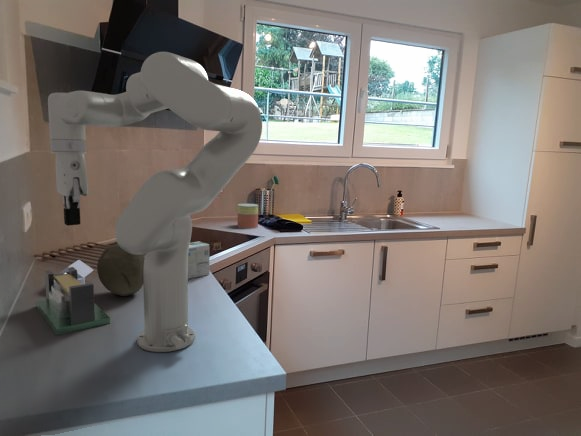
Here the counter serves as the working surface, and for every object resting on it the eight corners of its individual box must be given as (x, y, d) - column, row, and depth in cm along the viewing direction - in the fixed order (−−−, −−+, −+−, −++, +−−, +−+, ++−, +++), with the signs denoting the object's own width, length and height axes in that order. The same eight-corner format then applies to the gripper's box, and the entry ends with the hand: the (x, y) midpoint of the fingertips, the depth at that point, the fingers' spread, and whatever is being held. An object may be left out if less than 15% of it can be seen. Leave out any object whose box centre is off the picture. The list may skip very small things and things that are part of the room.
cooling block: (110, 323, 110) (108, 282, 109) (56, 335, 103) (54, 291, 101) (83, 298, 127) (82, 262, 125) (36, 306, 119) (34, 268, 117)
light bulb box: (199, 270, 158) (199, 240, 156) (210, 274, 153) (210, 244, 152) (172, 275, 151) (172, 244, 149) (182, 280, 146) (182, 248, 144)
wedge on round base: (65, 279, 143) (46, 293, 130) (64, 259, 141) (45, 270, 129) (94, 280, 143) (78, 293, 131) (93, 259, 142) (77, 271, 129)
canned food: (262, 227, 244) (262, 205, 242) (247, 229, 236) (247, 207, 234) (248, 224, 252) (248, 203, 250) (232, 226, 243) (233, 204, 241)
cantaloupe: (157, 289, 136) (156, 241, 134) (132, 305, 123) (131, 252, 120) (115, 284, 139) (113, 237, 137) (86, 300, 125) (84, 248, 123)
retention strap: (89, 296, 108) (89, 289, 108) (71, 299, 105) (71, 293, 105) (68, 276, 122) (68, 271, 122) (52, 279, 120) (52, 273, 119)
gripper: (95, 148, 101) (98, 227, 104) (76, 147, 113) (80, 218, 116) (59, 148, 97) (63, 231, 100) (43, 146, 108) (48, 221, 111)
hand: (72, 224), depth 108 cm, fingers closed
